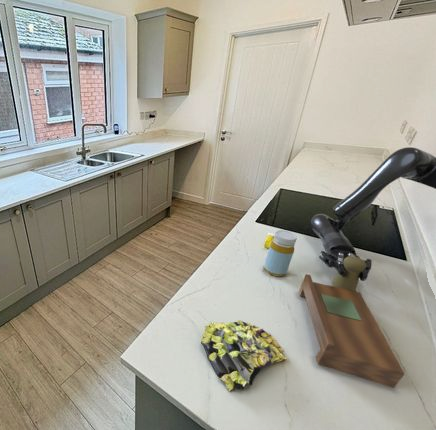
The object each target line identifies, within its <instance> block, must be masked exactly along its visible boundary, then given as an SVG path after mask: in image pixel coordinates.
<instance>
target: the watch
mask: <svg viewBox="0 0 436 430" xmlns="http://www.w3.org/2000/svg"><path fill="white" fill-rule="evenodd" d="M274 235H275V232H274V233H273V232H267V237H266V239H265V241H264V244H263V247H264V248H266V249H269V247H270V244H271V242H272V241H273V239H274Z"/></svg>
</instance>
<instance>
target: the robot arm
mask: <svg viewBox="0 0 436 430" xmlns="http://www.w3.org/2000/svg"><path fill="white" fill-rule="evenodd" d="M400 178H402V179H405V180H409V181H413V182H415V183H418V184H420V185H421V184H422V185H425V186H427V187H430V188H432V189H435V190H436V156H434V155H433V154H431V153H429V152H427V151H425V150H422V149H420V148H417V147H411V146H407V147H402V148H399V149H397V150H395V151H394V152H392V153H391V154H390V155H388V156H387V157H386V159H385V160H384V161H383V162H381V163H380V165H379V166H378V167H377V168H376V169H375V170H374V171H373V172H372V173H371V174H370V175H369V176H368V177H367V178H366V180H365V181H363V182H362V183H361V184H360V185H359V186H358V187H357V188H356V189H355V190H353V192H352V193H350V194H348V195H347V196H346V197H345V198H344V199H342V200H341V201H339V202H338V203H337V204H336V205H334V206H333V208H332V212H333V214H334V215H335V216H336V217H337V219H336V220H335V219H334V218H333V217H330V216H329V215H327V214H324V213H318V214H315V215H313V216H312V217H311V219H310V221H309V226H310V228H311V230H313V233H315V234H316V235H317V237H319V239H320V241H321V243H322V247H323V250H321V251H320V253H319V256H318V258H319V259H320V260H321V261H322V263H324V264H325V265H326V266H327V267H328V268H331V269H332V268H334V270H336V271H337V274H338V273H339V274H340V275H341V276H342V277H345V276H346V274H347V270H346V269H345V267H344V264H343V261H344V259H345V258H346V257H348V256H354V257H358V258H360V259H362V258H361V257H360V256H359V255H357V252H356V249H355V248H354V246H353V244H352V243H351V241H350V239H348V237H347V236H346V235H345V234H344V233H343V231H344V229H345V228H346V227H347V225H348V224H349V223H350V222H351V221H352V220H353V219H354V218H356V217H357V216H358V215H360V214H361V213H363V212H364V211H365V210H367V209H368V208H369V207H370V206H371V205H372V204H373V202H375V200H376V199H377V197H378V196H379V194H381V192H382V191H383V190H384V189H385V188H386V187H388V185H390V184H392V183H393V182H395V181H396V180H398V179H400ZM362 260H364V261H365V263H366V268H365V269H364V270H363V271H361V273H360V276H359V280H360V281H362V282H364V281H366V280H367V279H368V276H369V273H370V271H371V269H372V263H373V262H372V261H373V260H372V259H370V258H366V259H362Z"/></svg>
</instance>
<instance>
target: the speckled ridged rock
mask: <svg viewBox="0 0 436 430" xmlns="http://www.w3.org/2000/svg"><path fill="white" fill-rule="evenodd" d="M204 327H205V331H204V332H203V334H202V338H201V341H200V344H201V345H202V346H203V349H204V351H205V354H206V358H207V361H208V362H209V363H210V365H211V366H212V369H213V371H214V373H215V375H216V376H217V377H218V378H219V380H221V382H223V383H224V384H225V386H226V389H227V391H229V392H231V391H233V389H234V388H236V389H238V390H244V389H245V387H246V385H249V386H253V382H254V380H255V378H256V376H257V375H258V374H259V372H260V371H261V370H262V369H264V368H266V367H268V366H270V365H272V364H274V363H278V362H282V361H283V362H284V361H286V360H288V357H287V356H286V355H285V354H284V353H283V352H284V349H283V348H282V347H281V346H280V345H279V343H278V342H277V340H276V339H275V338H274V337H273V336H272V333H269V332H268V331H266V330H265V329H264V328H263V327H259V326H257V325H255V324H254V325H253V324H251V323H249V322H245V321H243V320H236V321H234V322H219V323H218V322H215V323H214V322H210V323H209V324H208V325H204Z"/></svg>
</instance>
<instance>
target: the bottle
mask: <svg viewBox="0 0 436 430" xmlns="http://www.w3.org/2000/svg"><path fill="white" fill-rule="evenodd" d="M274 234H275V235H274V239H273V241H272V242H271V244H270V247H269V248H268V251H267V254H266V258H265V261H264V264H263V268H264V270H265V272H266V273H268V274H269V275H271V276H274V277H283V276H285V275H287V272H288V269H289V267H290V264H291V261H292V258H293V256H294V253H295V244H296V242H297V239H298V237H297V235H296V234H295V233H294V232H292V231H289V230H284V229H280V230H276V231H275V232H274Z"/></svg>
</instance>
